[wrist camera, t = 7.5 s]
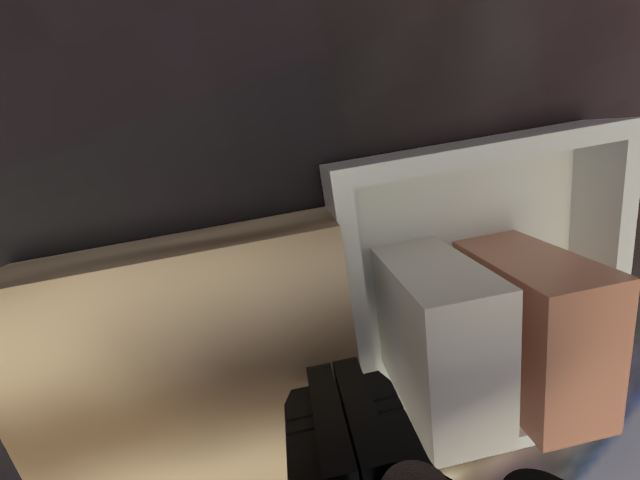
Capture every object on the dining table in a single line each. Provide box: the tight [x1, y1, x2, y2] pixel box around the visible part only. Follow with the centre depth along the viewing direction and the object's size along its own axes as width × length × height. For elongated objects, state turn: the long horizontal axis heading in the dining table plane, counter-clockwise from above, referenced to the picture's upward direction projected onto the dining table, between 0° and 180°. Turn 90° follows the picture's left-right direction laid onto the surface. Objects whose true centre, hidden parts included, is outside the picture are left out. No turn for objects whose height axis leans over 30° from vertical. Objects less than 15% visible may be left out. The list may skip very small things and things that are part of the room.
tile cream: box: [370, 236, 523, 469], centre depth 12 cm, size 5×5×2 cm
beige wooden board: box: [0, 206, 360, 480], centre depth 12 cm, size 9×11×3 cm
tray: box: [319, 117, 640, 469], centre depth 14 cm, size 12×10×2 cm
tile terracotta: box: [452, 230, 640, 453], centre depth 12 cm, size 5×5×2 cm
